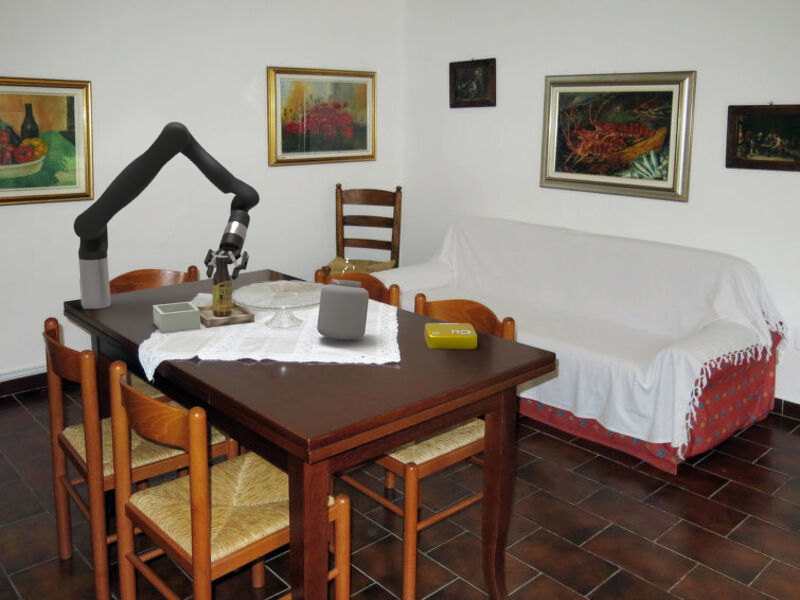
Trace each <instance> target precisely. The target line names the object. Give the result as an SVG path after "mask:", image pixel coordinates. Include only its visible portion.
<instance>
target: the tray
mask: <svg viewBox="0 0 800 600" xmlns="http://www.w3.org/2000/svg"><path fill="white" fill-rule="evenodd" d="M235 303H236V302H232V310H231V314H230V315H228V316H215V315H213V304H207V305H200V306H199V305H198V306H196V307H197V308H198V309H199V310H200V324H202V325H203V326H204V327H206V328H213V327H214V328H215V327H223V326H224V327H225V326H231V325H239V324H248V323H255V322H256V321H255V320H256V318H255V317H256V316H255V313H253V312H252V311H250V310H249V309H247V308H246V307H245V306H243V307H241V306H239V305H236V304H235ZM244 307H245V308H244Z"/></svg>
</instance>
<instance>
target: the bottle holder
mask: <svg viewBox="0 0 800 600" xmlns="http://www.w3.org/2000/svg"><path fill="white" fill-rule="evenodd" d="M152 311H153V312H152V317H153V324H154V326H155V327H157V328H158V330H159V331H160V333H162V334H164V333H171V332H172V333H173V332H181V331H190V330H197V329H201V326H202V325H201V322H200V310H199V309H198V308H197V306H196V305H194V304H193V303H192V302H191V301H183V302H172V303H165V304H162V303H161V304H153V305H152Z"/></svg>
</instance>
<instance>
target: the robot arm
mask: <svg viewBox="0 0 800 600" xmlns="http://www.w3.org/2000/svg"><path fill="white" fill-rule="evenodd" d="M179 153H180V154H181V155H183V156H184V157H186V158H187V159H188V160H189V161H190V162H192V164H194V166H195V167H196V168H197V169H198V170H199V171H200V172H201V173H202V175H203V176H204V177H205V178H206V179H207V180H208V181H209V182H210V183H211V184H212V185H213V186H215V188H216V189H218V190H219V191H221V193H223V194H225V195H226V194H233V195H234V196H233V198H232V200H231V202H230V208H229V209H230V210H229V212H230V213H229V214H230V215H229V218H228V221H227V223H226V226H225V227H224V231H223V234H222V236H221V239H220V243H219V247H218V249H217V250H213V249H212V248H209V250H208V251H207V254H206V256H205V259H204V261H203V263H204V265H205V267H206V268H207V269H206V272H205V274H206V276H207V278H208V279H212V278H213V275H214V272H215V270H214V269H216V256H228V265H230V266H231V265H232V264H233V265H234V267H233V269H232V273H231V275H230V278H231V280H232V281H236V280H237V279H238V277H239V274H240V272H241V271H242V270H244V271H246V270H247V267H248V262H249V258H250V255H249V253H248V251H246V250H245V251H243V252H242V250H243V248H244V244H245V242H246V237H247V232H248V229H249V225H250V222H251V217H250V214H249V211H250V210H252V209H254V208H255V207H257V205H258V204H259V203H260V195H259V192H258V191H257V190H256V189H255V187H253V186H251V185H250V184H248V183H246V182H244V181H243V180H241V179H240V178H238V177H236V176H235V175H233V173H231V171H229V170H228V168H226V167H225V166H224V165H223V164H222V163H220V162H219V161H218V160H217V159H216V158H215V157H213V156H212V155H211V154H210V153H209V151H207V150H206V149H205V148H204V147H203V146H202V145H201V144H200V143H199V142H198V141H197V140H196V138H195V137H194V136H193V135H192V133H191V131H189V129H188V127H187V126H186V125H185V124H184V123H182V122H179V121H171V122H168V123H167V124H166V125H165V126H164V127H163V128H162V130H161V132H160V133H159V135H158V136H157V138H156V139H155V140H154V141H153V143H151V145H150V147H148V148H147V149H146V150H145V151H144V152H143V153H141V155H139V156H137V157H136V158H135V159H133V160H132V161H131V162H130V163H128V165H126V166H125V167H124V169H123V170H121V172H119V173H118V175H117V176H116V177H115V178H114V179H113V180H112V181H111V183H110V184H109V185H108V186H107V188H105V190H104V191H103V192H102V194H101V195H100V197H98V198H97V200H96V201H95V202H93V203H92V204H91V205H90V206H89V207H88V208H86V209H85V210H84V211H82V213H80V214H79V215H78V216H76V217H75V220H74V222H73V230H74V231H73V232H74V233H75V235H76V236H77V237H78V238H79V248H78V252H77V254H78V267H79V287H80V289H79V290H80V291H79V293H80V302H81V307H82V309H84V310H99V309H105V308H108V307H110V306H111V305H112V303H111V291H110V290H111V287H110V277H109V276H110V275H109V274H110V273H109V272H110V271H109V261H108V259H109V258H108V249H109V236H108V234H109V233H108V231H109V230H108V223H109V222H110V221H112V219H113V218H114V217H115V215H117V213H119V212H120V211H122V210H123V209H124V208H126V207H127V206H128V205H129V204H131V203H132V202H133V201H134V200H135V199H137V198H138V197H139V196H140V195H141V194H142V193H143V192H144V191H145V190H146V188H147V187H148V186H150V184H151V183H152V181H154V180H155V178H156V176H157V175H158V174H159V173H160V172H161V170H162V169H163V168H164V167H165V165H167V164H168V163H169V162H170V161H171V160H172V159H173V158H174V157H176V156H177V155H178V154H179ZM240 258H241V262H240V264H239V263H238V260H239V259H240Z"/></svg>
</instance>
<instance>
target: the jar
mask: <svg viewBox="0 0 800 600" xmlns="http://www.w3.org/2000/svg"><path fill="white" fill-rule="evenodd" d="M346 263H349V258H346ZM352 268H353V271H354V270H355V266H353V267H352ZM344 270H347V267H346V268H344ZM344 270H342V272H343V273H342V274H344V272H345V271H344ZM361 286H362V282H361V281H356V280H355V281H354V280H346V279H335V278H332V279H331V283H329V284H326V285H323V287H322V288H321V291H320V297H319V307H318V317H317V326H316V328H317V329H316V330H317V332H318V333H319V334H320V335H322V336H323V337H328V338H332V339H340V340H360V339H361V338H363V337H364V336H365V333H366V326H367V319H368V307H369V300H370V293H369V291H368V290H367V289H365V288H364V287H361Z"/></svg>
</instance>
